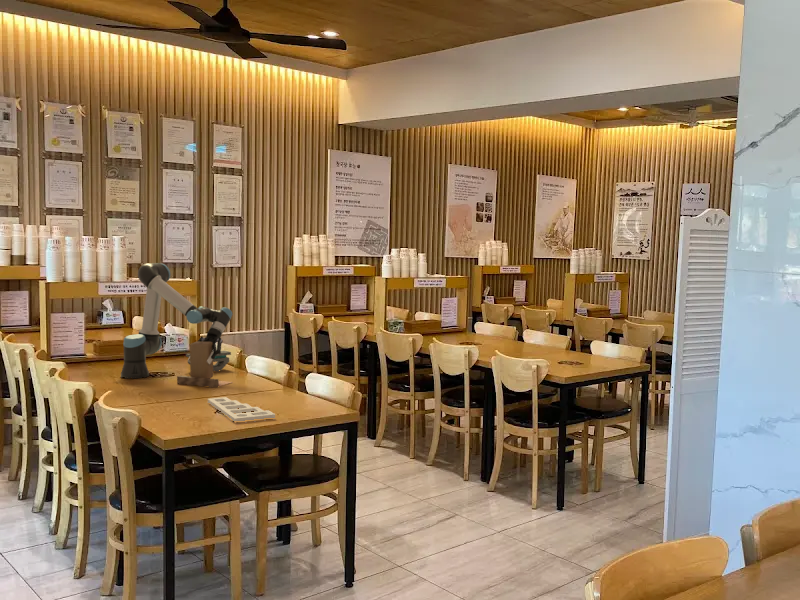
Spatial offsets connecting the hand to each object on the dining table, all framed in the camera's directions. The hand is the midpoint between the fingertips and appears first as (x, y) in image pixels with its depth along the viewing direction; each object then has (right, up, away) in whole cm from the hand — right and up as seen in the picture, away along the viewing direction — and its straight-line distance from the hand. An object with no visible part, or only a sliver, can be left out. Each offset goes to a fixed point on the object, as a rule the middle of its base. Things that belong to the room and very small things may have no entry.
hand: (198, 362), depth 402 cm
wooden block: (+1, -9, +3) cm, 10 cm away
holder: (+37, -17, -65) cm, 77 cm away
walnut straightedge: (+1, -12, -6) cm, 13 cm away
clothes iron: (-5, -9, +39) cm, 40 cm away
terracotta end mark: (+10, -12, -1) cm, 15 cm away
